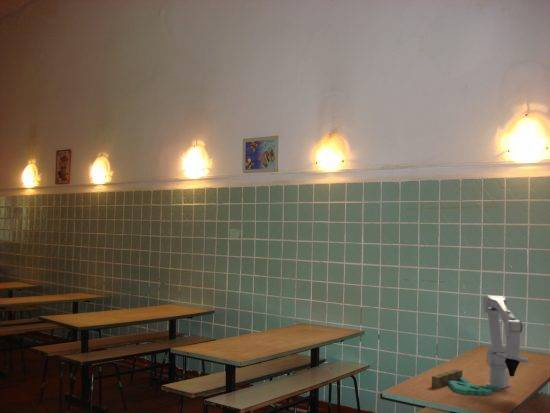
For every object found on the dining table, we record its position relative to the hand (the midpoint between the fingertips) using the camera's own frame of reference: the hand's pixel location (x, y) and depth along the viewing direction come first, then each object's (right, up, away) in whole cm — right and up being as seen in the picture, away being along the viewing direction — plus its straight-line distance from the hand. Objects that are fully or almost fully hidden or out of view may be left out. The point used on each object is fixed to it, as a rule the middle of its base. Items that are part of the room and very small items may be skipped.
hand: (511, 375), depth 256 cm
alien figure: (-16, -10, +9) cm, 21 cm away
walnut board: (-25, -9, +17) cm, 31 cm away
